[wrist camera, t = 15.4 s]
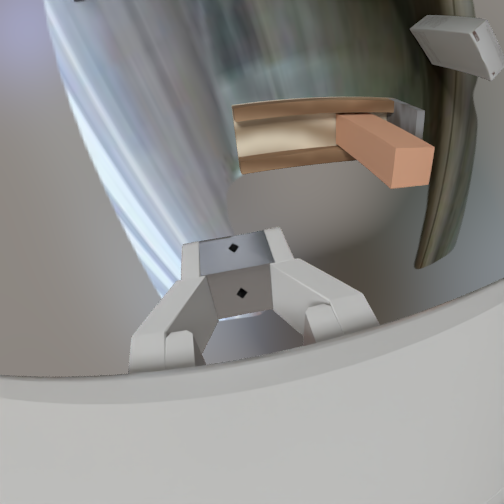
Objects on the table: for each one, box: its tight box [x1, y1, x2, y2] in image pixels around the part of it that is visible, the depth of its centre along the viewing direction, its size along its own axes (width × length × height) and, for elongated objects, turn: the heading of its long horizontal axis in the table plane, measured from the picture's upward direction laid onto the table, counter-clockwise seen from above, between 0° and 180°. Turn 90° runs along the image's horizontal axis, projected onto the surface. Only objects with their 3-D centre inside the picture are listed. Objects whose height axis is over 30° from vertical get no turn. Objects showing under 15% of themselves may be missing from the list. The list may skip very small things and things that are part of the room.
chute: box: [232, 97, 425, 174], centre depth 39 cm, size 10×26×9 cm, turn 96°
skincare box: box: [410, 15, 504, 81], centre depth 27 cm, size 8×6×15 cm
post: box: [336, 113, 435, 189], centre depth 36 cm, size 5×6×16 cm
